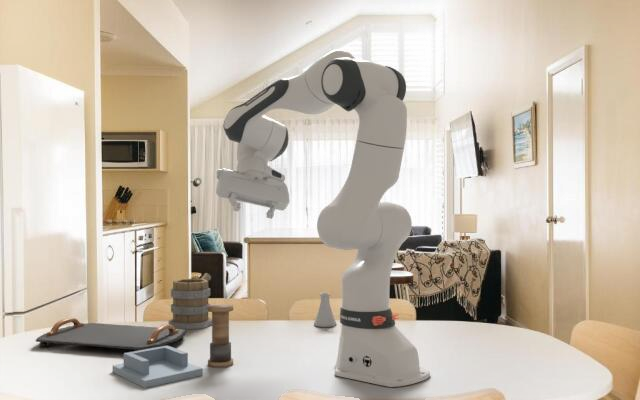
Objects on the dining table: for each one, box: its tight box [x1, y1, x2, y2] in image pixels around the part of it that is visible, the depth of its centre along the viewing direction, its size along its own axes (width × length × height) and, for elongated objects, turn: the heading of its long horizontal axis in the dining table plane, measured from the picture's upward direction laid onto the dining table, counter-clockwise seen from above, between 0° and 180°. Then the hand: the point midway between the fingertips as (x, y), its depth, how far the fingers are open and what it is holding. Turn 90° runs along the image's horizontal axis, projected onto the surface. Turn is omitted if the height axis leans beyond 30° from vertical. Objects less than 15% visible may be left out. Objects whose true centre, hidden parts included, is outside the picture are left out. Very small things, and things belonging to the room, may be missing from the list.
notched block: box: [112, 345, 204, 389], centre depth 139 cm, size 16×14×4 cm
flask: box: [313, 292, 338, 328], centre depth 192 cm, size 7×7×10 cm
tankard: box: [168, 272, 212, 331], centre depth 195 cm, size 20×13×15 cm, turn 162°
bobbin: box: [207, 303, 234, 369], centre depth 147 cm, size 6×6×14 cm
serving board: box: [35, 317, 187, 351], centre depth 169 cm, size 39×23×6 cm, turn 74°
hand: (253, 213), depth 163 cm, fingers open, 8 cm apart
